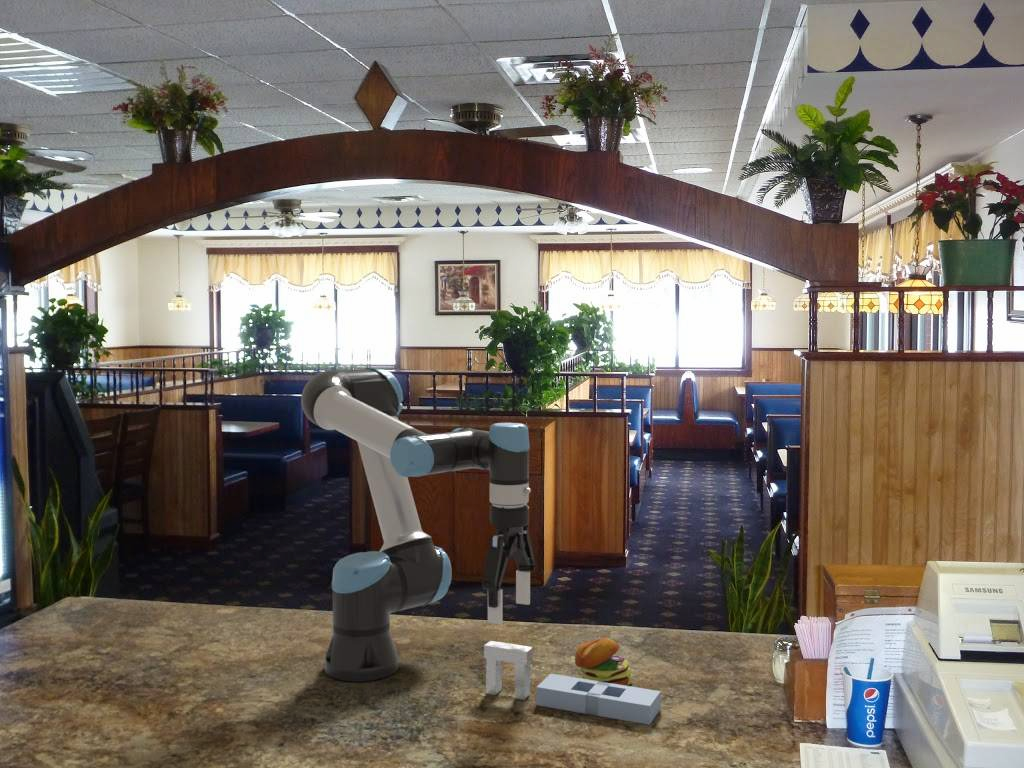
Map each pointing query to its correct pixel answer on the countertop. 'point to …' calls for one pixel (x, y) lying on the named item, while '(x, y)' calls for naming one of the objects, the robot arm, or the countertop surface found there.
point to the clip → (508, 653)
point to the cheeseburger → (603, 662)
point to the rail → (599, 698)
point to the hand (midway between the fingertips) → (509, 613)
